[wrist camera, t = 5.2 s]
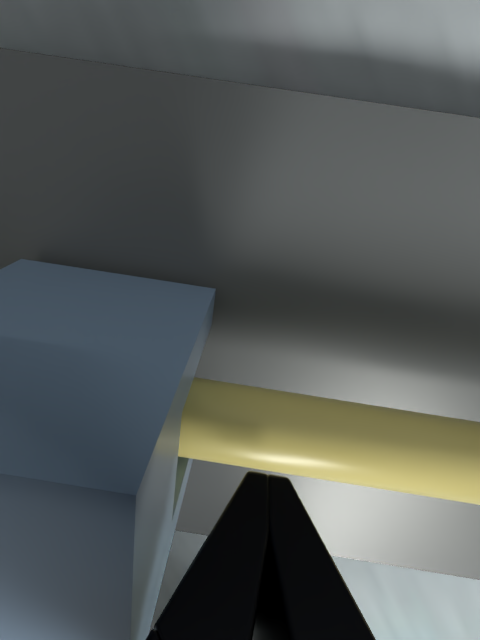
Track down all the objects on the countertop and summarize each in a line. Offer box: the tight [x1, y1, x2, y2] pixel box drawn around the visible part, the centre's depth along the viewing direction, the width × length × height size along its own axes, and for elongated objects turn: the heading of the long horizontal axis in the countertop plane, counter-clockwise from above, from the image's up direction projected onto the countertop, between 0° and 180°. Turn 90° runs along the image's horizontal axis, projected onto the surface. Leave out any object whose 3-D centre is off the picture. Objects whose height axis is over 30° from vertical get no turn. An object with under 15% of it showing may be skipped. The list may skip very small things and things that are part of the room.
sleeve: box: [0, 259, 216, 640], centre depth 9 cm, size 5×5×7 cm
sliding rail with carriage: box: [0, 48, 480, 580], centre depth 10 cm, size 14×26×6 cm, turn 82°
